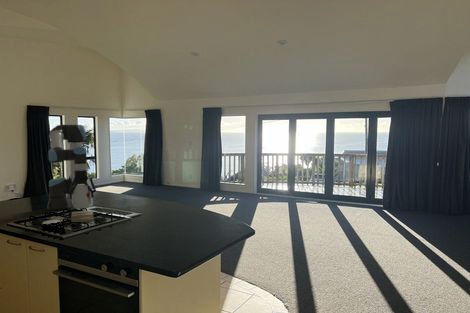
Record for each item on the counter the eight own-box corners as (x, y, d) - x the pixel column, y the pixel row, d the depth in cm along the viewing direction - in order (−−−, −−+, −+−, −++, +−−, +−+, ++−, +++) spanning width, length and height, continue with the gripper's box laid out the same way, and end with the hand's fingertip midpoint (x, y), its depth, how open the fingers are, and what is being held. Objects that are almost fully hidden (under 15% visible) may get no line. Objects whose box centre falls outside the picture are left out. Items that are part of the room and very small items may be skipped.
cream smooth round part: (44, 222, 219) (44, 220, 219) (61, 221, 222) (61, 219, 222) (41, 226, 210) (40, 224, 210) (58, 224, 213) (58, 222, 213)
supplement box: (86, 208, 221) (85, 185, 220) (73, 208, 222) (72, 185, 221) (93, 205, 230) (92, 183, 229) (81, 205, 231) (80, 183, 230)
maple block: (72, 219, 228) (72, 212, 228) (93, 217, 233) (93, 210, 233) (71, 224, 216) (71, 216, 216) (93, 221, 221) (93, 214, 221)
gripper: (60, 171, 215) (62, 205, 217) (99, 169, 222) (100, 203, 224) (62, 170, 222) (63, 203, 224) (99, 168, 230) (100, 201, 231)
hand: (82, 203), depth 224 cm, fingers closed on supplement box, 10 cm apart
